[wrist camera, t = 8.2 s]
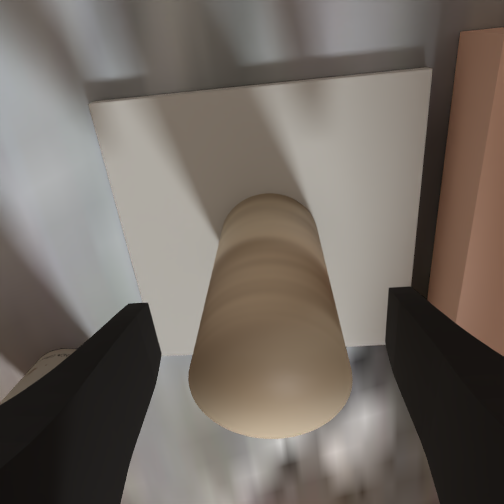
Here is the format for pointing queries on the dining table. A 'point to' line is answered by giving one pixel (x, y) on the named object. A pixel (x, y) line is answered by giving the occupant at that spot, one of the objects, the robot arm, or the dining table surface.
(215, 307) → the plug
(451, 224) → the square board with hole
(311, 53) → the dining table surface
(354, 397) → the dining table surface
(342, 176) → the mat
